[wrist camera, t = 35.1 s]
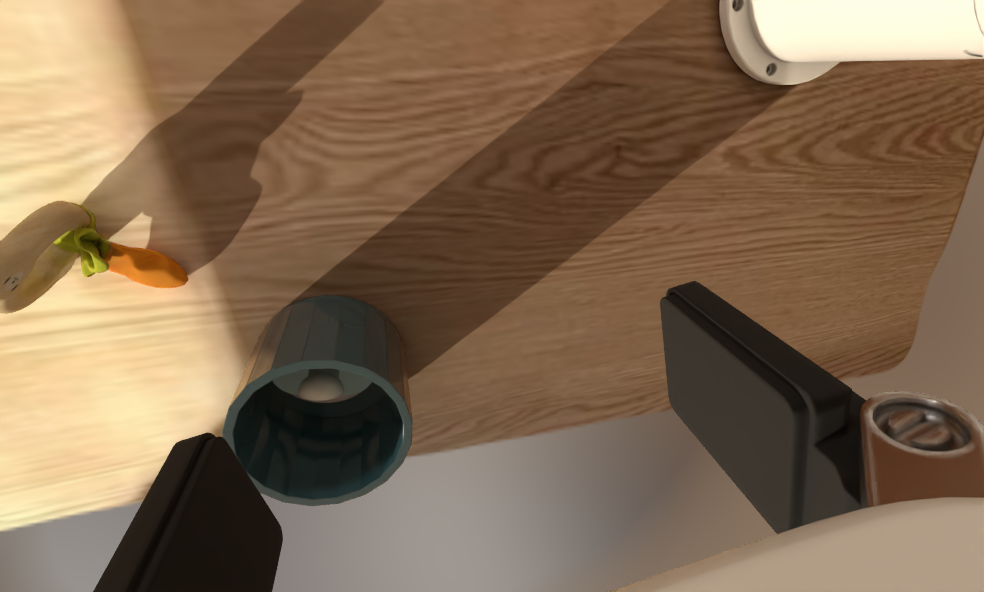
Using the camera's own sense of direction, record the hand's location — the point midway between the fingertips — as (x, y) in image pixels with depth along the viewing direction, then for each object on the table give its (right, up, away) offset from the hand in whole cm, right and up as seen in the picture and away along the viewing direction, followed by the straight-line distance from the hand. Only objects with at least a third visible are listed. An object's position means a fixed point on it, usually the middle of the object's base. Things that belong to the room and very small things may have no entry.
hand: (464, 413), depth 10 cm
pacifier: (-12, -3, +29) cm, 31 cm away
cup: (-12, -3, +29) cm, 32 cm away
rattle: (-25, +5, +23) cm, 34 cm away
